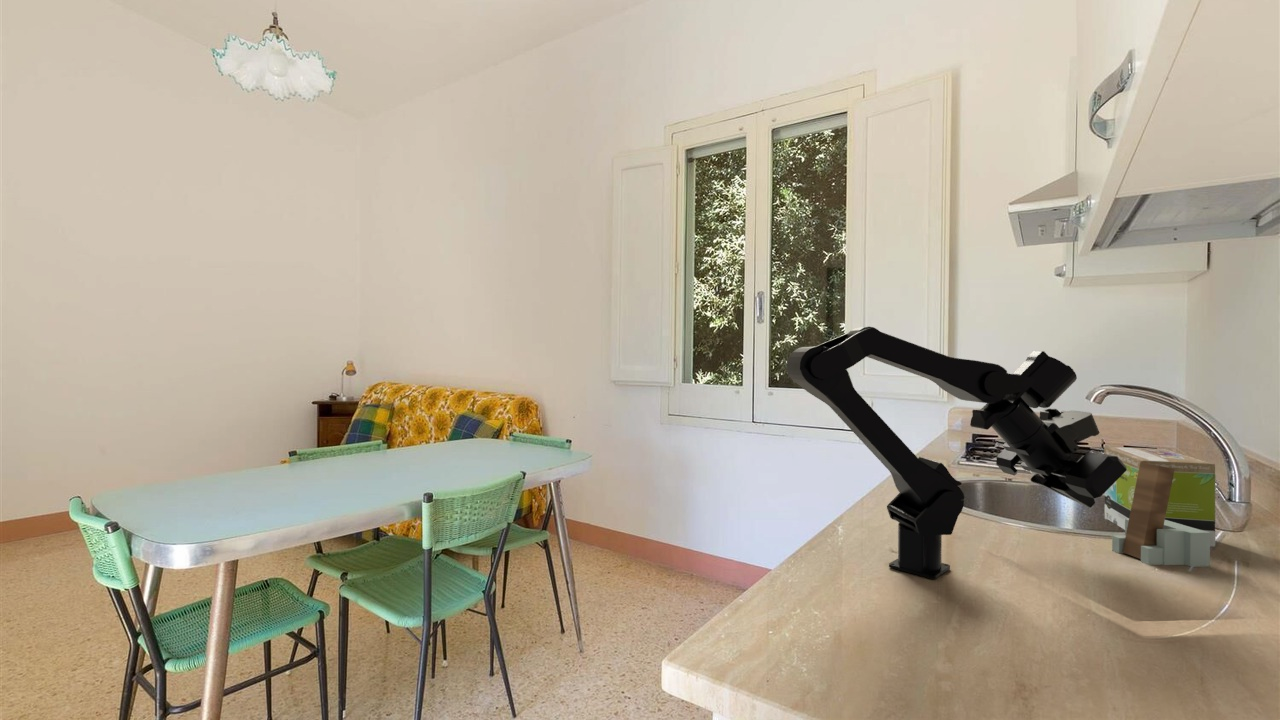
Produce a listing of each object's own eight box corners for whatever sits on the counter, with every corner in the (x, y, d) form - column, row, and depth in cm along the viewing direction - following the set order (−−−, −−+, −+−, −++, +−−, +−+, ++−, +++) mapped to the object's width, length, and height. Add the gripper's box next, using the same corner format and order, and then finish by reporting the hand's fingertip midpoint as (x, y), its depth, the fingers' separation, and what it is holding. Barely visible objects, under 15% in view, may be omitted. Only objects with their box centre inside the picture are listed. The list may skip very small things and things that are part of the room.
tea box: (1101, 523, 109) (1102, 445, 109) (1168, 528, 106) (1168, 448, 106) (1140, 547, 95) (1141, 458, 95) (1218, 555, 92) (1219, 461, 92)
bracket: (1145, 575, 82) (1145, 533, 82) (1097, 556, 90) (1097, 518, 90) (1214, 574, 83) (1214, 532, 83) (1160, 555, 91) (1160, 517, 91)
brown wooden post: (1140, 559, 85) (1159, 465, 85) (1122, 552, 88) (1140, 462, 88) (1156, 562, 85) (1174, 469, 85) (1137, 555, 88) (1155, 465, 88)
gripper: (1115, 396, 77) (1191, 480, 77) (1015, 388, 95) (1077, 456, 96) (1056, 454, 76) (1134, 538, 77) (968, 435, 95) (1030, 503, 95)
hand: (1091, 504), depth 86 cm, fingers closed
